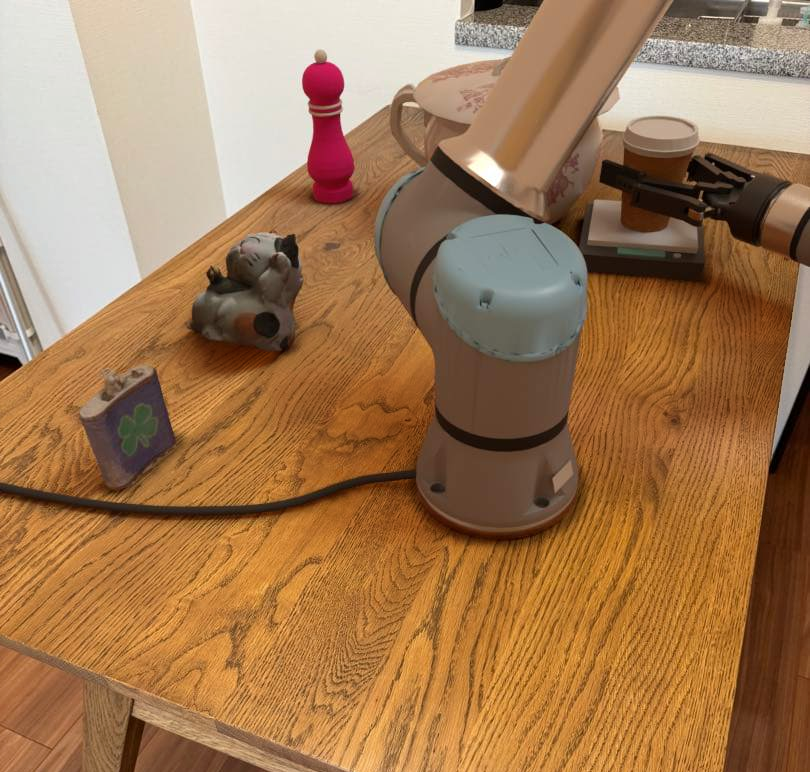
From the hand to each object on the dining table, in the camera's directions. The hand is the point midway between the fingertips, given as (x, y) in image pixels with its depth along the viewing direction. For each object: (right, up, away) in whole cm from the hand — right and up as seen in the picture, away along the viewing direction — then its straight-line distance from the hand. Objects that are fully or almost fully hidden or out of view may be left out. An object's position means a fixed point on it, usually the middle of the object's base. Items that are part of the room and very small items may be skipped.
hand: (624, 162), depth 104 cm
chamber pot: (-14, -2, +13) cm, 19 cm away
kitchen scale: (+3, -10, +4) cm, 11 cm away
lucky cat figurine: (-48, -25, -9) cm, 55 cm away
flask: (-56, -43, -26) cm, 75 cm away
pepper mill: (-41, +4, +19) cm, 45 cm away
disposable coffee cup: (+3, -7, +2) cm, 8 cm away
